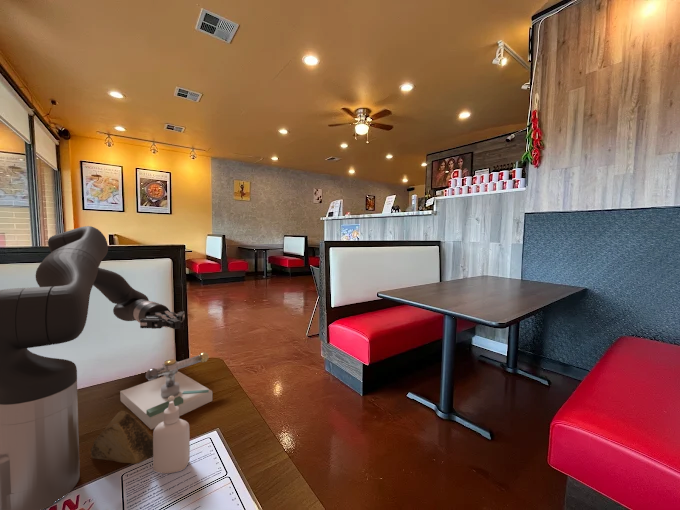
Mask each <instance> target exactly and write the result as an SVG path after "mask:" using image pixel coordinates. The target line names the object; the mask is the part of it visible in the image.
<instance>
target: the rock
mask: <svg viewBox="0 0 680 510" xmlns="http://www.w3.org/2000/svg"><path fill="white" fill-rule="evenodd" d="M90 456H91V459H96V460H105V461H113V462H116V463H123V464H133V465H135V464H140V463H142V462H143V461H146V460H148V459H150V458H151V457H152V458H153V434H150V433H149V432H148V431H147V429H146V428H145V427H144V425H143V424H142V422H139V420H137V418H135V417H133V416H132V415H131V414H130V413H127V412H126V411H125V410H120V411H119V412H117V413H116V414H115V416H114V417H113V418H112V420H110V421H109V423H108V424H107V425H106V426H105V428H104V429H103V430H102V431H101V432H100V434H98V436H97V438H95V440H94V441H93V445H92V447H91V449H90Z"/></svg>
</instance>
